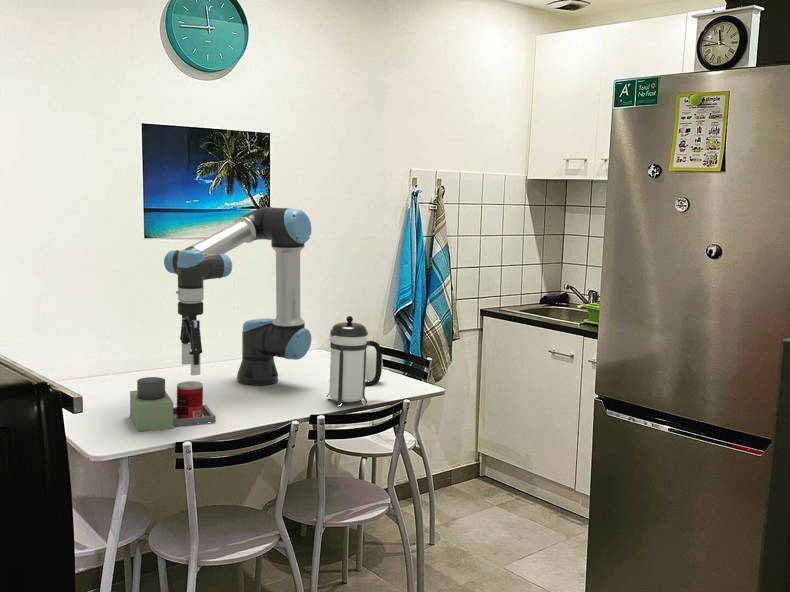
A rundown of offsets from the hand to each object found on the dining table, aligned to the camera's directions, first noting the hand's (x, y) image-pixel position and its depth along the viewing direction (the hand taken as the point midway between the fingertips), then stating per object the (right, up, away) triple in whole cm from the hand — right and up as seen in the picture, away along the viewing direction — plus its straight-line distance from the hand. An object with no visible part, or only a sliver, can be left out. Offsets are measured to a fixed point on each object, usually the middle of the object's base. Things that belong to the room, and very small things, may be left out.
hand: (190, 369), depth 237 cm
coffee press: (+47, -14, +29) cm, 57 cm away
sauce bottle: (+54, -10, +56) cm, 78 cm away
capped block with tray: (-5, -15, 0) cm, 16 cm away
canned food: (-1, -16, +2) cm, 16 cm away
